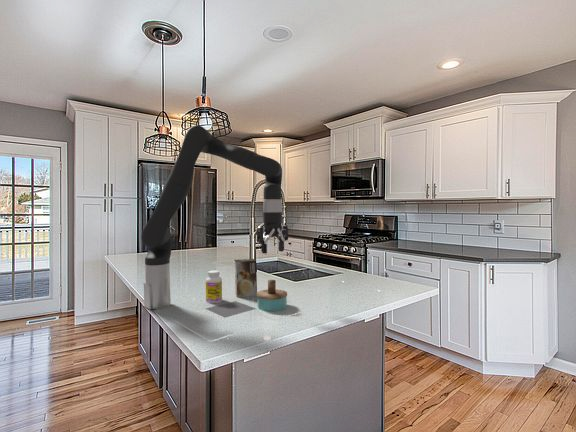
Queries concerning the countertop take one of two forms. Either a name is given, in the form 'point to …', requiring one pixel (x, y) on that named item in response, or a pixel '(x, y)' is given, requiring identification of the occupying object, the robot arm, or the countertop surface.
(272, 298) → the lid
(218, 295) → the supplement bottle
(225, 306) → the mat
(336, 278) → the countertop surface
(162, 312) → the countertop surface
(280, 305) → the bowl
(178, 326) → the countertop surface
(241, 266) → the coffee box
